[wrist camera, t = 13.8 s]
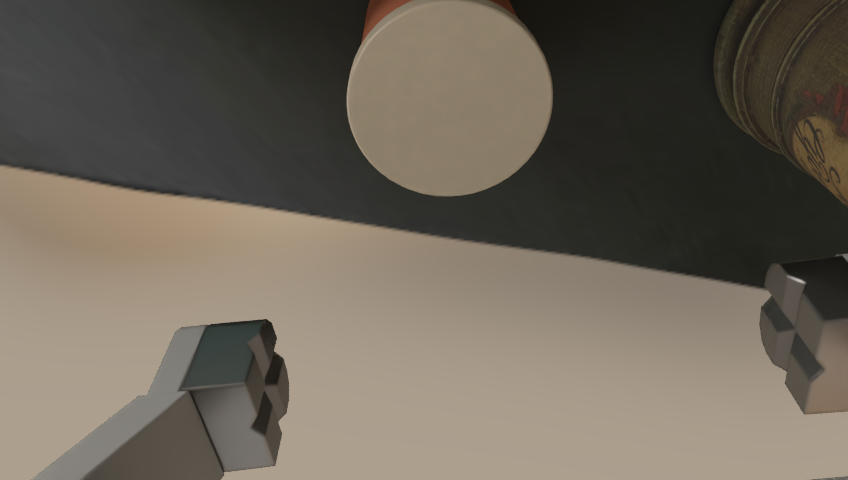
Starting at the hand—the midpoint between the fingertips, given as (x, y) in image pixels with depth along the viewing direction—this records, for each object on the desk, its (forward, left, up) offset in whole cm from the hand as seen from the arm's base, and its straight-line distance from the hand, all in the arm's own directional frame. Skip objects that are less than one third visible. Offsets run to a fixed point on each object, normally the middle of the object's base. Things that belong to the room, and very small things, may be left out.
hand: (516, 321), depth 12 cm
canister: (+1, +1, -21) cm, 21 cm away
